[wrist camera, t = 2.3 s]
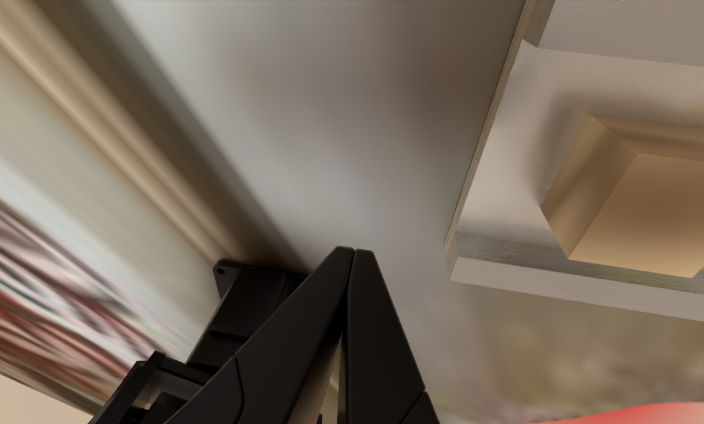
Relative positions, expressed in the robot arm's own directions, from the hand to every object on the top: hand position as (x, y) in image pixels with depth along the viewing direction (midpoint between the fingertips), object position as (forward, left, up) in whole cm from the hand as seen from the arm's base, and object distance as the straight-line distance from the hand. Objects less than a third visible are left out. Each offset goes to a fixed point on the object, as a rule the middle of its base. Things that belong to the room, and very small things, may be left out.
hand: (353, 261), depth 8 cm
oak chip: (0, -9, -7) cm, 11 cm away
